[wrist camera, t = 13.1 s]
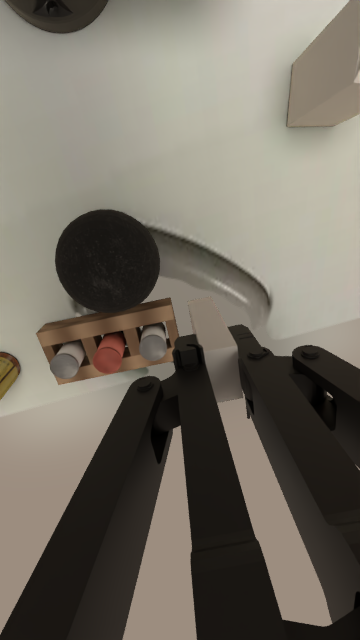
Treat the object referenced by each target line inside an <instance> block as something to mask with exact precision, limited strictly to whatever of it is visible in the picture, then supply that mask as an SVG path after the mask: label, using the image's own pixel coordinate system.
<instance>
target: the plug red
mask: <svg viewBox="0 0 360 640" xmlns="http://www.w3.org/2000/svg"><path fill="white" fill-rule="evenodd" d="M125 345H126V338H125V336H124V335H123V334H122V333H121V332H119V331H116V332H111V333H107V334H105V335H104V336H103V338H102V341H101V343H100V345H99V347H98V350H97V352H96V353H95V355H94V357H93V365H94V367H95V368H96V369H97V370H98V371H99V372H101V373H105V374H111V373H114V372H116V371H117V370H118V369H119V368H120V366H121V363H122V357H123V353H124V349H125Z"/></svg>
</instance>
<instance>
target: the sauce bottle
mask: <svg viewBox="0 0 360 640" xmlns="http://www.w3.org/2000/svg"><path fill="white" fill-rule="evenodd" d="M19 373H20V366H19V363H18V361H17V360H16V359H15V358H14V357H13V356H11V355H9V354H6V353H2V352H0V400H1V399H2V397H3V396H4V395H5V393H6V392H7V391H8V389H9V388H10V387H11V386H12V384H13V383H14V382H15V380H16V379H17V376H18V375H19Z"/></svg>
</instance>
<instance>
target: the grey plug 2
mask: <svg viewBox="0 0 360 640" xmlns="http://www.w3.org/2000/svg"><path fill="white" fill-rule="evenodd" d="M166 351H167V345H166V334H165V326H164V325H163V323H162V322H159V323H154V324H149V325H145V326H143V330H142V336H141V342H140V345H139V352H140V354H141V355H142V357H143V358H145V359H147V360H150V361H156V360H159V359H161V358H162V357H164V355H165V354H166Z"/></svg>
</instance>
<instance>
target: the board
mask: <svg viewBox="0 0 360 640" xmlns="http://www.w3.org/2000/svg"><path fill="white" fill-rule="evenodd" d="M164 321H165V322H166V326H167V330H168V334H169V338H168V339H166V345H167V351H166V354H165V355H164V357H162V358H161V359H159V360H156V361H150V360H147V359H145V358H143V357H142V355H141V354H140V352H139V345H140V342H141V336H142V334H141V331H140V326H145V325H149V324H154V323H159V322H164ZM121 330H123V332H124V335H125V338H126V341H127V345H128V347H125V349H124V353H123V357H122V363H121V366H120V368H119V369H118V370H117V371H116V372H114V373H118V372H123V371H128V370H133V369H137V368H142V367H147V366H151V365H156V364H161V363H166V362H171V361H173V356H172V351H173V349H174V348H175V346H174V342H175V340H176V339H177V337H179V334H178V329H177V325H176V320H175V316H174V311H173V307H172V302H171V298H165V299H161V300H156V301H151V302H147V303H142V304H138V305H137V306H135V307H134V308H131V309H128V310H126V311H122V312H117V313H102V312H99V313H95V314H90V315H85V316H80V317H76V318H71V319H66V320H62V321H57V322H52V323H47V324H45V325H44V326H43V327H42V328H41V329H40V330H39V331H38V332H37V333H36V335H37V337H38V339H39V341H40V344H41V346H42V348H43V351H44V353H45V355H46V357H47V360H48V362H49V364H50V362H51V360H52V359H53V358H54V357H55V356H56V355H57V353H58V352H59V350H60V349H61V348H62V346H63V343H64V342H69V341H74V340H78V339H81V341H82V343H83V346H84V348H85V351H86V354H87V356H85V357H84V359H83V361H82V363H81V365H80V367H79V370H78V372H77V374H76V375H75V376H74V377H72V378H70V379H61V378H58V377H56V376H55V375H54V376H55V378H56V380H57V382H58V385H61V384H65V383H70V382H75V381H80V380H85V379H89V378H94V377H99V376H104V375H109V374H105V373H101V372H99V371H98V370H97V369H96V368H95V367H94V365H93V357H94V355H95V353H96V352H97V350H98V347H99V345H100V343H101V341H102V337H101V335H102V334H107V333H111V332H116V331H121ZM111 374H113V373H111Z"/></svg>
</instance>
